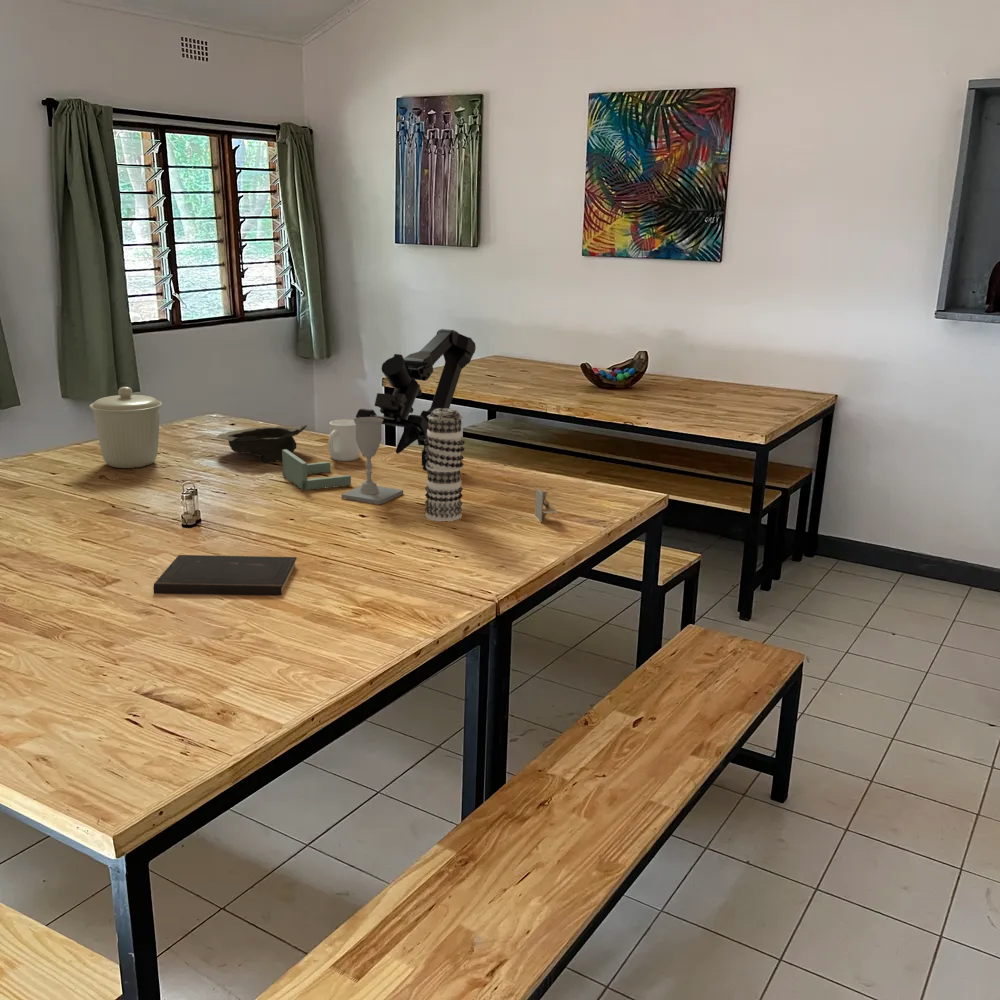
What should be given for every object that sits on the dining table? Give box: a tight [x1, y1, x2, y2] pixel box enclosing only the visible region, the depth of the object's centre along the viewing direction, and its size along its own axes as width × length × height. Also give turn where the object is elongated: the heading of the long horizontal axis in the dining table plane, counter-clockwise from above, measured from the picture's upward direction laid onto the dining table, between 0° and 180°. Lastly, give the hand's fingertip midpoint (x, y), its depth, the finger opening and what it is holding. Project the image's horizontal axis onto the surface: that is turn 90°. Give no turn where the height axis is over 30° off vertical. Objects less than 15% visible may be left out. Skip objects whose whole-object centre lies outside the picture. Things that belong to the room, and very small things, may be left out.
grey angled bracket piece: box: [534, 487, 558, 523], centre depth 225 cm, size 3×7×7 cm, turn 12°
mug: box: [327, 419, 361, 462], centre depth 274 cm, size 12×8×10 cm
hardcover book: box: [152, 554, 297, 597], centre depth 184 cm, size 16×23×2 cm
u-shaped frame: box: [281, 449, 352, 492], centre depth 252 cm, size 13×16×7 cm
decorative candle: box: [424, 407, 466, 523], centre depth 223 cm, size 9×9×25 cm
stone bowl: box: [215, 424, 308, 464], centre depth 276 cm, size 25×25×9 cm
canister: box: [89, 386, 163, 469], centre depth 261 cm, size 18×18×21 cm
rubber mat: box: [340, 485, 404, 505], centre depth 241 cm, size 11×11×1 cm
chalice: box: [352, 417, 383, 494], centre depth 239 cm, size 7×7×18 cm
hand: (380, 450), depth 241 cm, fingers open, 9 cm apart
